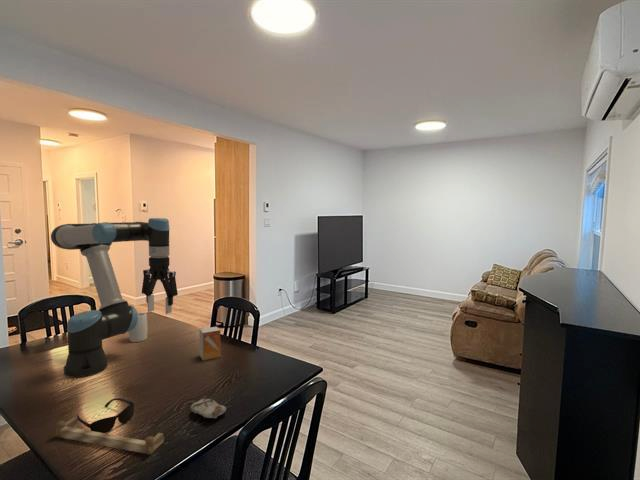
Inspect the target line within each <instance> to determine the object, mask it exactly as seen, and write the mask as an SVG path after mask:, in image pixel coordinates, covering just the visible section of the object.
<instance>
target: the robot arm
mask: <svg viewBox="0 0 640 480" xmlns="http://www.w3.org/2000/svg"><path fill="white" fill-rule="evenodd" d="M170 229H171V228H170V221H169V219H168V218H161V217H160V218H159V217H150V218H148V221H147V222H146V221H145V222H144V221H133V222H131V221H130V222H107V221H106V222H97V223H96V222H93V223H66V224H61V225H59V226H56V227H55V228H54V229H52V231H51V234H50V240H51V242H52V243H53V245H54V246H55V247H57V248H58V249H59V248H60V249H62V250H69V251H70V250H71V251H72V250H80V254H81V255H82V256H83V257H85V258H86V261H87V263H88V267H89V270H90V274H91V276H92V280H93V282H94V286H95V289H96V293H97V297H98V300H99V304H100V307H99V308H98V309H92V310H86V311H82V312H78V313H76V314H74V315H72V316H70V318H68V320H67V328H66V331H67V347H68V354H67V358H66V361H65V362H66V363H65V364H64V366H63V375H64V376H67V377H71V378H72V377H75V378H76V377H78V378H79V377H85V376H91V375H93V374H96V373H98V372H100V371H103V370H105V369H106V368H107V367H108V363H109V360H108V358H107V356H106V353H105V351H104V349H103V340H106V339H109V338H113V337H115V336H119V335H125V334H126V333H129V331H132V330H133V329H134V328H135V326H136V324H137V320H138V314H137V313H138V310H137V309H136V307H135V306H134V305H129V302H128V300H126V299H124V298H123V296H122V293H121V290H120V287H119V284H118V280H117V277H116V274H115V271H114V268H113V267H114V266H113V264H112V261H111V258H110V255H109V251H110V249H111V246H112V244H113V243H120V242H137V241H139V242H141V241H144V242H145V241H146V242H148V256H149V257H148V266H149V268H147V269H143V271H142V273H143V280H142V286H141V294H144V295H145V297H146V299H145V301H146V302H145V303H146V304H147V312H148V313H150V312H154V311H155V295H154V293H153V292H154V290H155V286H156V285H157V282H158V280H159V281H160V283H162V286H163V289H164V291H165V295H166V297H165V303H164V304H165V315H169V314H171V313H173V311H172V309H173V308H172V306H173V305H174V297H177V296H178V288H177V280H176V271H171V270H170V268H169V266H170V257H169V256H170Z"/></svg>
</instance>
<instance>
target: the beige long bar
mask: <svg viewBox="0 0 640 480" xmlns="http://www.w3.org/2000/svg"><path fill="white" fill-rule="evenodd" d="M78 427H79V420H78V418H77V417H73V418H71V419H70V420H68V421H66V420H59V421H57V422H56V437H57V438H59V439H60V438H62V439H66V440H73V441H79V442H84V443H88V444H92V445H93V444H94V445H98V446H102V447H103V446H105V447H110V448H114V449H119V450H125V451H130V452H136V453H141V454H146V455H147V456H150V455H152V454H154V452H155V451H156V450H157V449H158V448H159V447H160V446H161V445H162V444H163V443H164V441H165V440H164V439H165V438H164V432H163V433H162V432H158V433H157V434H156V435H155V436H153V435H150V436H147V437H146V438H145V440H143V439H137V438H132V437H126V436H123V435H122V436H121V435H115V434H110V433H100V432H94V431H91V430H90V429H83V428H78Z"/></svg>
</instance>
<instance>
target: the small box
mask: <svg viewBox="0 0 640 480" xmlns="http://www.w3.org/2000/svg"><path fill="white" fill-rule="evenodd" d="M199 358H201V360H202V362H203V361H208V360H212V359H217V358H221V329H220V328H219V327H218V326H212V327H211V326H210V327H205V328H199Z"/></svg>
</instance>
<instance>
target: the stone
mask: <svg viewBox="0 0 640 480" xmlns="http://www.w3.org/2000/svg"><path fill="white" fill-rule="evenodd" d="M190 409H191V411H192V413H194V414H198V415H200V416H202V417H203V418H205V419H206V418H207V419H217V418H218V416H221V415H224V413H225V412H226V410H227V407H226V405H225V406H224V405H222V404H219V403H218V401H215V400H214V399H210V398H205V397H203V398H202V397H201V398H199V400H198V401H196V402H193V403H192V404H191V405H190Z"/></svg>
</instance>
